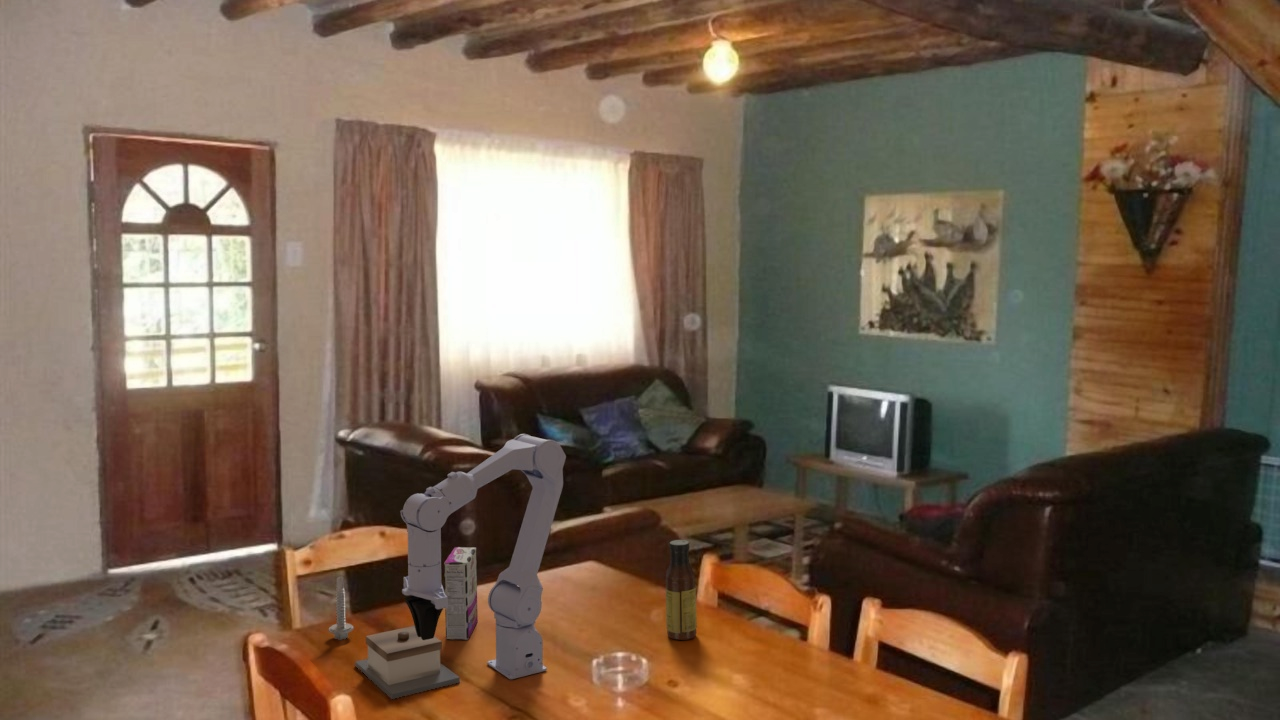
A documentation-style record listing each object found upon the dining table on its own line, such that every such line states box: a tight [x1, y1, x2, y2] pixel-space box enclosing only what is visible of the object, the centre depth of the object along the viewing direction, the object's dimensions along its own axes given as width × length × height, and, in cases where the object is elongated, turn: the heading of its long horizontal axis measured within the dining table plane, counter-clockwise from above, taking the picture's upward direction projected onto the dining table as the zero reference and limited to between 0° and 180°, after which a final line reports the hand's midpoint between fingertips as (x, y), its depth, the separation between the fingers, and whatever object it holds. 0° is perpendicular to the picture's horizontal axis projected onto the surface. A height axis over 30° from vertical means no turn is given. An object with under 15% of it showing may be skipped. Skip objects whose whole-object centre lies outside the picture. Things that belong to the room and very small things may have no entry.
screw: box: [328, 575, 354, 641], centre depth 214 cm, size 13×5×5 cm
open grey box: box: [367, 645, 441, 685], centre depth 195 cm, size 10×10×4 cm
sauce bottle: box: [665, 539, 698, 641], centre depth 216 cm, size 7×6×20 cm
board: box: [354, 658, 461, 700], centre depth 196 cm, size 18×13×1 cm
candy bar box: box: [443, 546, 479, 641], centre depth 218 cm, size 11×5×16 cm, turn 179°
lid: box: [365, 625, 443, 662], centre depth 195 cm, size 10×10×2 cm
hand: (425, 637), depth 187 cm, fingers closed
